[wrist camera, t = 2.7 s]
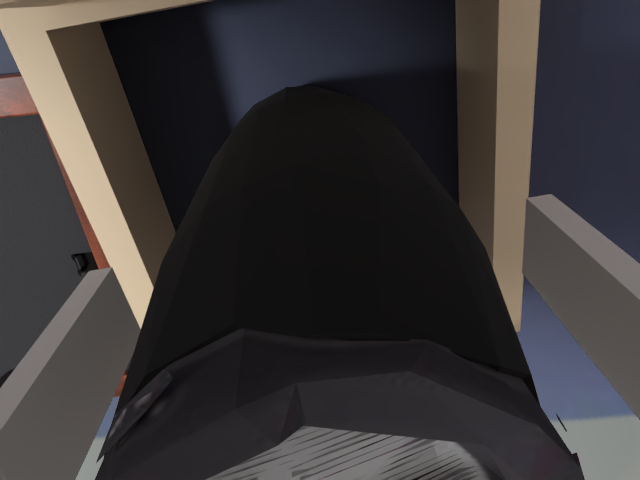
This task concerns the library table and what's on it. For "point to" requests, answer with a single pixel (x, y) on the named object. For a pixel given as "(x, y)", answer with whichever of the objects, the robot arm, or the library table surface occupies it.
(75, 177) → the carton
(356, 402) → the portable speaker
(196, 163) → the library table surface
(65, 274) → the picture frame
